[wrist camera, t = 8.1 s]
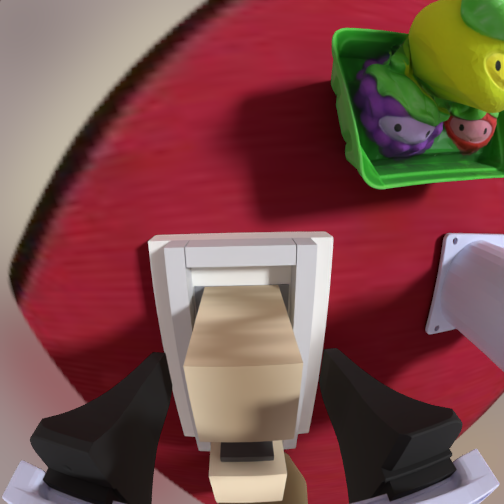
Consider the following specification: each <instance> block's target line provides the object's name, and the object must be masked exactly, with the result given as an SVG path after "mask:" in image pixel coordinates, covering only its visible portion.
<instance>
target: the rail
mask: <svg viewBox="0 0 504 504" xmlns="http://www.w3.org/2000/svg"><path fill="white" fill-rule="evenodd" d="M148 246H149V256H150V265H151V273H152V281H153V288H154V295H155V302H156V308H157V315H158V321H159V326H160V332H161V338H162V343H163V348H164V353H166V357H167V362H168V367H169V372H170V376H171V381H172V385H173V386H172V390H173V394H174V398H175V402H176V406H177V410H178V414H179V418H180V421H181V425H182V429H183V432H184V436H192V437H195V438H196V442H197V446H198V449H199V451H210V464H209V479H210V482H211V486H212V489H213V493H214V496H215V499H216V502H217V503H253V502H272V501H282V499H283V494H284V489H285V483H286V478H287V469H286V463H285V456H284V450H283V449H292V448H296V442H297V436H298V434H302V433H309V428H310V423H311V418H312V413H313V408H314V402H315V396H316V390H317V384H318V378H319V372H320V365H321V358H322V351H323V344H324V336H325V328H326V319H327V310H328V300H329V290H330V278H331V266H332V252H333V237H332V236H331V235H330V234H328V233H327V232H254V233H209V234H175V235H155V236H154V237H153V238H151V239H150V240H149V241H148ZM257 285H278V286H279V289H280V292H281V295H282V298H283V301H284V304H285V307H286V310H287V313H288V317H289V320H290V323H291V326H292V329H293V332H294V335H295V338H296V342H297V345H298V348H299V351H300V354H301V357H302V361H303V370H302V380H301V389H300V397H299V405H298V413H297V421H296V428H295V435H294V439H289V440H277V441H262V442H200V441H199V437H198V433H197V429H196V425H195V420H194V416H193V411H192V407H191V402H190V398H189V393H188V388H187V383H186V378H185V372H184V367H183V366H184V362H185V358H186V354H187V350H188V347H189V343H190V339H191V335H192V331H193V328H194V324H195V320H196V317H197V313H198V310H199V306H200V302H201V299H202V295H203V292H204V288H205V287H218V286H257Z"/></svg>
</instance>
